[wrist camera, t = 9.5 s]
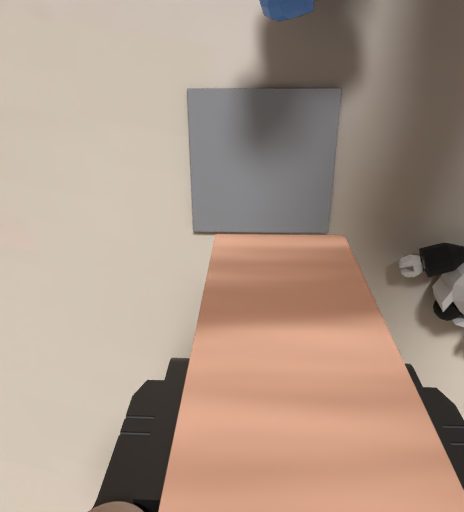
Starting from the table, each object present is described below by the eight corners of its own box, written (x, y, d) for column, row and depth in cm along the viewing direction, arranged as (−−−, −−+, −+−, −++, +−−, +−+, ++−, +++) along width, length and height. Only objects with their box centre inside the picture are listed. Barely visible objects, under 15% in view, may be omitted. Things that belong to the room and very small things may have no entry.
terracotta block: (215, 234, 14) (143, 585, 5) (344, 235, 14) (515, 603, 5) (218, 338, 16) (169, 741, 7) (332, 341, 15) (442, 758, 6)
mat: (187, 88, 29) (187, 89, 29) (340, 88, 29) (341, 88, 28) (194, 229, 33) (193, 231, 33) (327, 230, 33) (328, 232, 33)
